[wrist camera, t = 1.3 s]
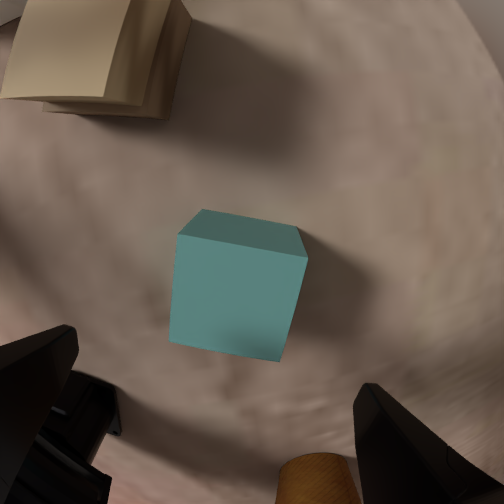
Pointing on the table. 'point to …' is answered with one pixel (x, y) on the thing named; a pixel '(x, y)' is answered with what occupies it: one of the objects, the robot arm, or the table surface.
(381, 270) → the table surface
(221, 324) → the teal block
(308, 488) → the disposable coffee cup
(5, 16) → the medicine bottle
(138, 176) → the table surface
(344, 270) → the table surface
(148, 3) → the tower top
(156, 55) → the tower base
